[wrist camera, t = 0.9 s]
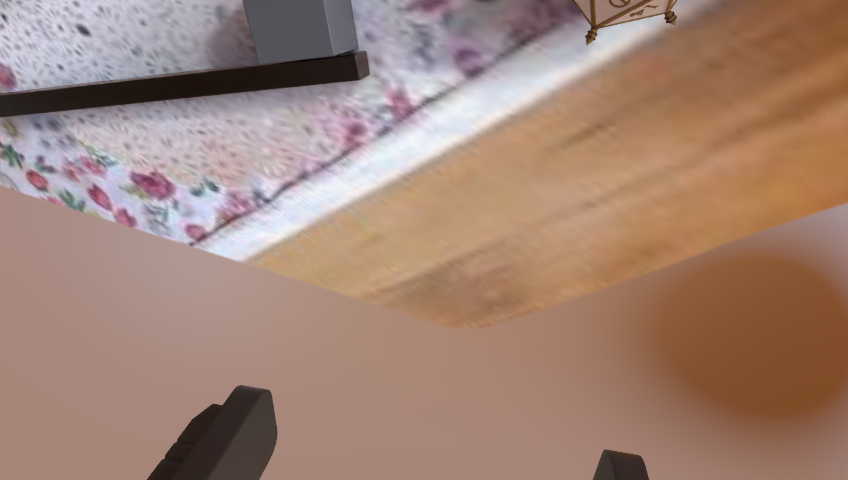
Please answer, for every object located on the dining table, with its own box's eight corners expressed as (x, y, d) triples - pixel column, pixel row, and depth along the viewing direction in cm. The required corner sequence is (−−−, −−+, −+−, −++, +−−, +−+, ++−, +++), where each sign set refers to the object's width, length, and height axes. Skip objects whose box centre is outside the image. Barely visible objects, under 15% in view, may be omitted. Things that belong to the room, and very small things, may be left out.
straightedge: (0, 93, 38) (-31, 99, 36) (366, 50, 32) (355, 54, 30) (9, 112, 39) (-20, 119, 37) (370, 74, 33) (359, 80, 30)
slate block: (274, -24, 31) (234, -28, 26) (345, -35, 30) (316, -41, 25) (292, 56, 33) (258, 64, 29) (358, 48, 32) (334, 56, 28)
